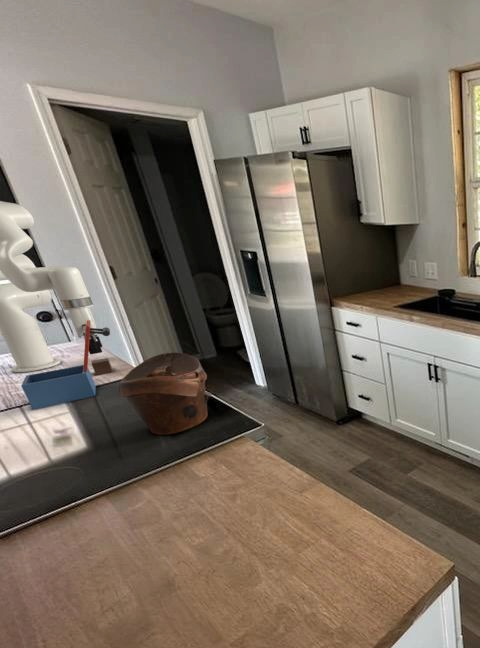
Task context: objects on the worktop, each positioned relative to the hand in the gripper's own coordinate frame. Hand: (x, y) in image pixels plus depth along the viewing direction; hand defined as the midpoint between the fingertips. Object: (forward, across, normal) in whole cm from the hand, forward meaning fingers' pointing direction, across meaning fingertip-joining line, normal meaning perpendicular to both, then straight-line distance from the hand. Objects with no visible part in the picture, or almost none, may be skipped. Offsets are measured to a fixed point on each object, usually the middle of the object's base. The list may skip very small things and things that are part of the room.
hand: (96, 350), depth 148 cm
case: (+10, +72, +15) cm, 74 cm away
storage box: (+9, +22, -9) cm, 25 cm away
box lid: (-6, +22, -1) cm, 23 cm away
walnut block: (+8, 0, 0) cm, 8 cm away
